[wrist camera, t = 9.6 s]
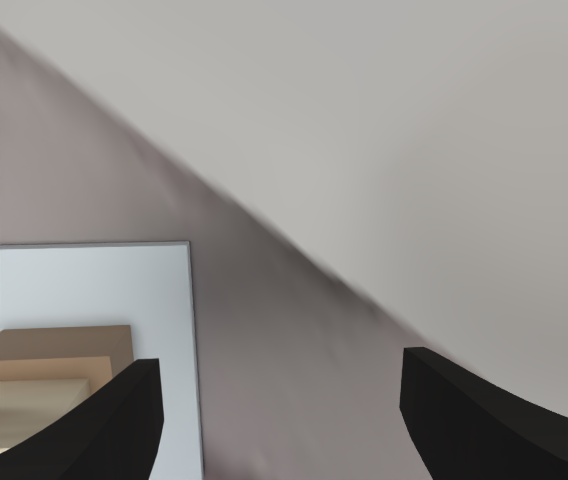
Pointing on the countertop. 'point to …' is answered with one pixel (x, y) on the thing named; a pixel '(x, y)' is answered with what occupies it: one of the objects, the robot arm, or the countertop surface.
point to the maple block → (36, 406)
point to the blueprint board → (107, 327)
